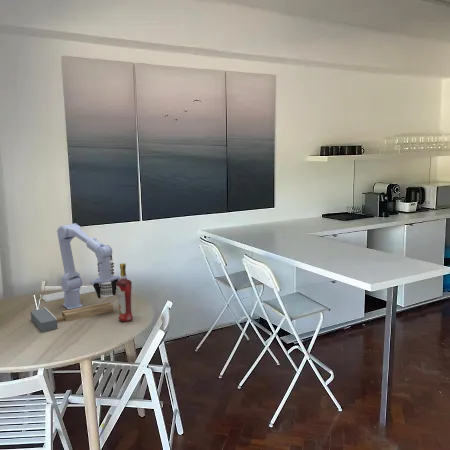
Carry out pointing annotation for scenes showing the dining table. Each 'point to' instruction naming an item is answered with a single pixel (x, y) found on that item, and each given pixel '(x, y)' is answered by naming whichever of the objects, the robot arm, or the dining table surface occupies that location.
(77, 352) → the dining table surface
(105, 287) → the white tower model
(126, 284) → the liquor
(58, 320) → the oak plank
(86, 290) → the baseboard
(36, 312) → the groove block
